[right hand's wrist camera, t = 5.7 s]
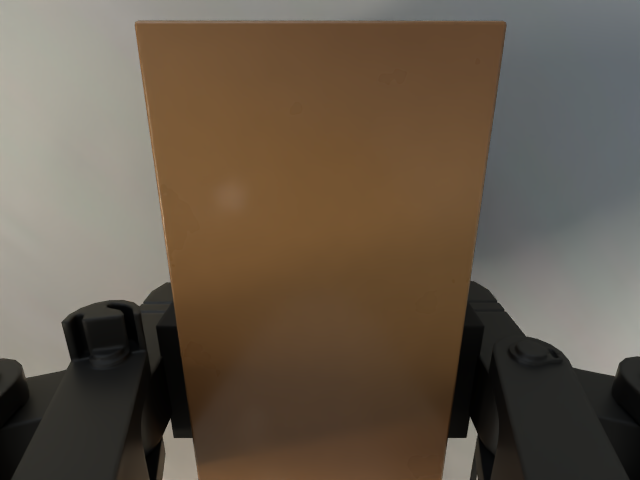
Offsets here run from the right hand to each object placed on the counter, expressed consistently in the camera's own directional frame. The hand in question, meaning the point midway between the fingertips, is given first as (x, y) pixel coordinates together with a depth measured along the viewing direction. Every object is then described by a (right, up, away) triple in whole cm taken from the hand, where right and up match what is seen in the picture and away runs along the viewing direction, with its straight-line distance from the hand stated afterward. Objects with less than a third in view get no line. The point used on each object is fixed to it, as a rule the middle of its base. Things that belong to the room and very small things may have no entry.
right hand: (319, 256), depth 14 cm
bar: (0, -24, +10) cm, 26 cm away
